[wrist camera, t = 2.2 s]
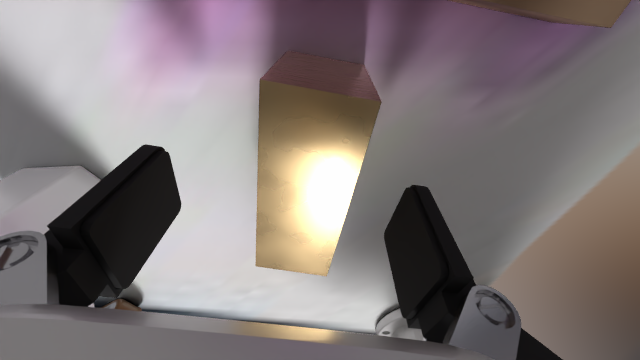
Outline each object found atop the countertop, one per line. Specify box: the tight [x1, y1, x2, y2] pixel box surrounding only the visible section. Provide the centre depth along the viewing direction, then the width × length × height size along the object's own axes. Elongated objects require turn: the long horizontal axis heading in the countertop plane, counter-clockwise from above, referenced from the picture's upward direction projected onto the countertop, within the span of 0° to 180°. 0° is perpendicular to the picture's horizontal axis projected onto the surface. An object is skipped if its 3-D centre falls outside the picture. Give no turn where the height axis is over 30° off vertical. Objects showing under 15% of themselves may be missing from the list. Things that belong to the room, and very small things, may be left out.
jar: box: [0, 166, 101, 236], centre depth 15 cm, size 9×8×12 cm
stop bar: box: [256, 51, 381, 276], centre depth 13 cm, size 4×10×6 cm, turn 171°
